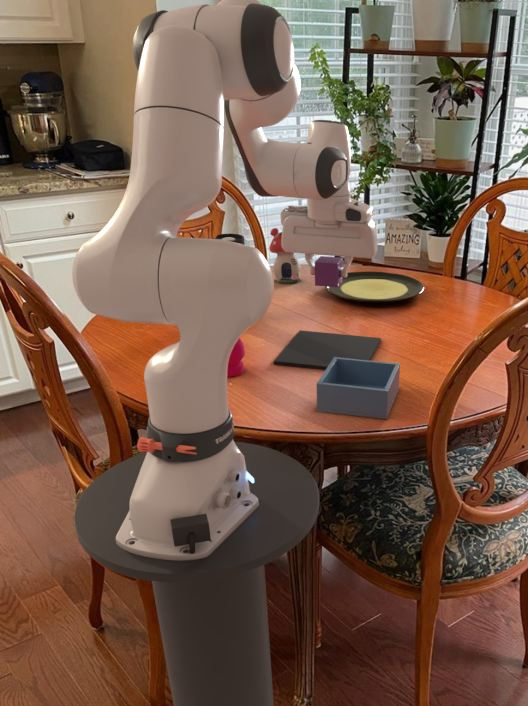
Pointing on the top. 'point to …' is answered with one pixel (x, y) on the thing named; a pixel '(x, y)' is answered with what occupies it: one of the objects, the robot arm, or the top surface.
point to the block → (328, 271)
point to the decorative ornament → (284, 261)
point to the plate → (377, 287)
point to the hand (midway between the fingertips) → (329, 275)
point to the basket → (358, 387)
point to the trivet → (325, 349)
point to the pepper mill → (236, 360)
